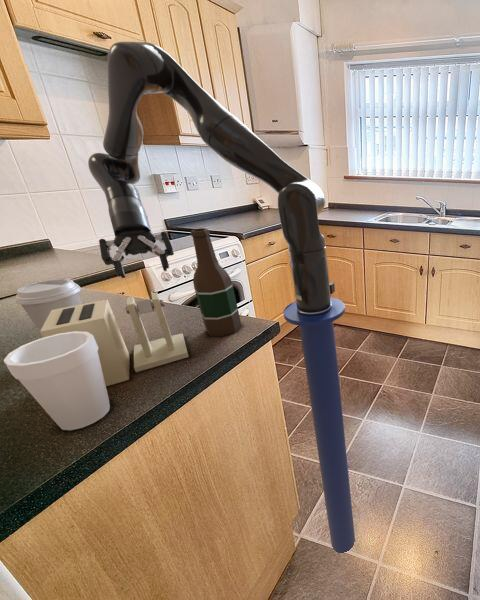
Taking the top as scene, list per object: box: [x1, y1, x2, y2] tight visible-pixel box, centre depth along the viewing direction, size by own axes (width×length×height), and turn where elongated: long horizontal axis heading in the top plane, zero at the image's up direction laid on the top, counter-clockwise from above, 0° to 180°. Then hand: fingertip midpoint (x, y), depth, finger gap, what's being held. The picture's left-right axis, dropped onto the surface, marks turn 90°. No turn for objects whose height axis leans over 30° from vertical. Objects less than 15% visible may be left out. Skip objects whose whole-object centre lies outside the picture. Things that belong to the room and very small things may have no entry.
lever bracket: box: [124, 291, 190, 373], centre depth 69 cm, size 10×9×13 cm
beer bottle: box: [190, 227, 242, 337], centre depth 76 cm, size 8×8×24 cm
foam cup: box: [3, 331, 111, 431], centre depth 52 cm, size 10×9×13 cm
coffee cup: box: [14, 277, 84, 335], centre depth 70 cm, size 10×10×15 cm
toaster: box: [39, 299, 131, 387], centre depth 62 cm, size 10×8×13 cm
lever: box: [135, 299, 166, 315], centre depth 71 cm, size 13×6×2 cm, turn 35°
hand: (144, 272), depth 83 cm, fingers open, 8 cm apart
